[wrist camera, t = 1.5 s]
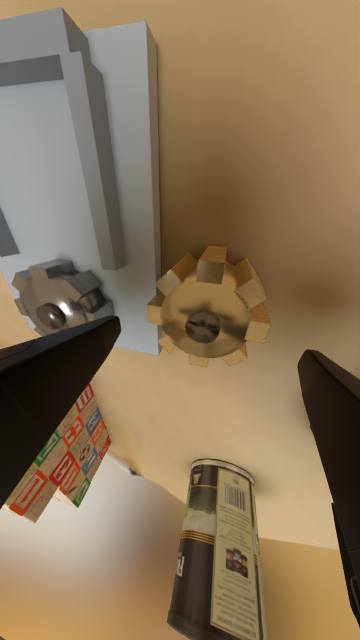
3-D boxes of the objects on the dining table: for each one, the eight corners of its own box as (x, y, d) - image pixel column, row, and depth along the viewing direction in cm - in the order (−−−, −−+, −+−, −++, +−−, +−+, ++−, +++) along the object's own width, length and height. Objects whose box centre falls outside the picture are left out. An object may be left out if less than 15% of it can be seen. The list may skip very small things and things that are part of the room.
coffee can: (194, 479, 33) (174, 623, 21) (188, 452, 28) (157, 622, 16) (252, 494, 30) (265, 671, 19) (257, 468, 25) (280, 688, 14)
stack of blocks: (112, 442, 34) (62, 539, 24) (84, 433, 35) (25, 522, 25) (84, 366, 23) (-33, 488, 13) (45, 356, 24) (-91, 461, 14)
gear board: (156, 44, 8) (128, -19, 6) (162, 347, 17) (153, 366, 15) (-74, 77, 11) (-151, 43, 9) (40, 323, 20) (17, 336, 18)
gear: (105, 264, 13) (75, 276, 10) (119, 340, 17) (100, 362, 14) (27, 255, 14) (-16, 264, 12) (57, 327, 18) (29, 346, 16)
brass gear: (271, 250, 11) (296, 273, 7) (245, 334, 14) (252, 385, 10) (170, 242, 12) (137, 257, 8) (169, 321, 16) (146, 361, 11)
